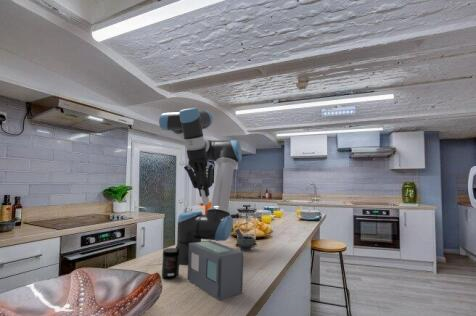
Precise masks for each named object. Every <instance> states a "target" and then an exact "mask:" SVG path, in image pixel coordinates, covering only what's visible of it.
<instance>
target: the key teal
mask: <svg viewBox="0 0 476 316" xmlns="http://www.w3.org/2000/svg"><path fill="white" fill-rule="evenodd" d="M216 267H217V263H215V262H213V261H210V260H208V264H207V277H208V278H210V279H211V280H213V281H215V282H216Z"/></svg>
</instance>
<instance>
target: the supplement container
mask: <svg viewBox="0 0 476 316" xmlns="http://www.w3.org/2000/svg"><path fill="white" fill-rule="evenodd" d="M179 256H180V249H177V248H176V247H169V248H164V249H162V263H161V264H162V267H161V276H162V278H163V279H164V280H165V279H166V280H174V279H176V278H178V277H179V274H180V264H179Z"/></svg>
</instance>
